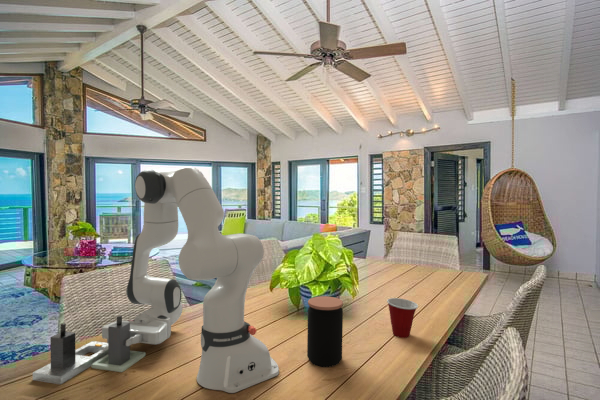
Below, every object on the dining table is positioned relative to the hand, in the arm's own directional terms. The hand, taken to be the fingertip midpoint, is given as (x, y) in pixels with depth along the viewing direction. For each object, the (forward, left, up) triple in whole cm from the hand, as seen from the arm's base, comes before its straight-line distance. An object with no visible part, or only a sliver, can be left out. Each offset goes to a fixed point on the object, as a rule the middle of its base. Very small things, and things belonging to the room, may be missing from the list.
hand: (117, 342), depth 102 cm
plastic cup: (-91, +22, -7) cm, 94 cm away
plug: (-1, -1, -6) cm, 6 cm away
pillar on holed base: (+10, -5, -7) cm, 13 cm away
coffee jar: (-56, +25, -7) cm, 62 cm away
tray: (-1, -1, -7) cm, 7 cm away
